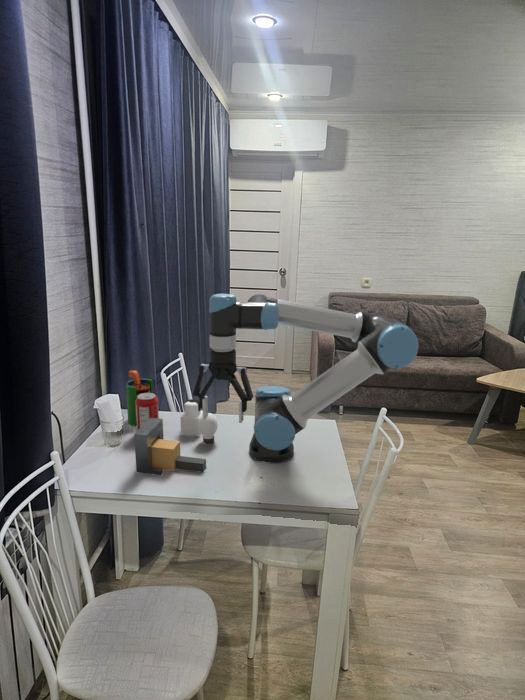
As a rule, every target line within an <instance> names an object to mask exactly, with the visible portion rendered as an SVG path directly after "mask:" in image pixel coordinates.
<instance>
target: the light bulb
mask: <svg viewBox="0 0 525 700" xmlns="http://www.w3.org/2000/svg"><path fill="white" fill-rule="evenodd" d="M218 426H219V423H218V419H217V417H216V416H215V414H213V413H211V412H208V417H207V418H206V419H205V420H204V419H203V415H202V416H201V417H200V419H199V422H198V427H199V431H200V433H201V435H202V443H203V444H204V445H213V444H214V443H215V434H216V432H217V430H218Z"/></svg>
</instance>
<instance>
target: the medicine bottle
mask: <svg viewBox="0 0 525 700" xmlns="http://www.w3.org/2000/svg"><path fill="white" fill-rule="evenodd" d="M183 407H184V409H183V410H184V412H183V413H182V414H181V415H180V434H181V435H186V436H193V437H195V436H196V437H199V436H201V435H202V434H201V433H200V431H199V427H198V422H199V419H200V417H201V416H202V415H203V409H202V408H200V404H199V399H193V398H192V399H190V398H189V399H187V400H185V402H184V404H183Z"/></svg>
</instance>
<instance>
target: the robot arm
mask: <svg viewBox="0 0 525 700" xmlns="http://www.w3.org/2000/svg"><path fill="white" fill-rule="evenodd" d="M208 306H209V308H208V309H209V311H208V313H209V314H208V316H209V323H208V324H209V348H210V349H209V364H206V363H204V362H202V363H201V364H200V365H199V366H198V370H199V371H198V373H199V374H198V377H197V380H196V383H195V386H194V389H193V393H192V395H193V396H194V397H198V398H199V399H198V400H199V404H200V408H201V409H202V411H203V419H204V420H205V419H206V418H207V417H208V413H209V402H208V401H209V398H208V395H206V394H207V393H208V390H210V388H211V387H212V385H213V383H214V382H215V380H217V381H220V380H223V381H228V382H229V383H230V384H231V387H233V389H234V391H235V393H236V394H237V396H238V397H239V399H240V400H239V401H238V423H239V424H242V423H243V421H244V413H246V411H247V409H248V402H251V401H252V399H253V398H255V399H254V400H255V401H254V402H255V403H254V404H255V405H254V425H253V434H252V437H251V440H250V442H249V446H248V452H249V454H250V455H249V456H251V457H252V458H253V459H254V460H256V461H259V462H262V463H267V464H268V463H269V464H276V463H277V464H278V463H283V462H286V461H288V460H290V459H292V457H293V455H294V451H295V447H294V441H295V437H296V434H298V433H299V432H301V431H302V430H304V429H305V428H306V427H307V424H308V423H307V422H308V420H309V419H311V418H312V417H314V416H315V415H316V414H318V413H319V412H321V411H322V410H324V409H325V408H327V407H328V406H329V405H331V404H333V403H334V402H336V401H337V400H338V399H340V398H341V397H343V396H344V395H345V394H347V393H348V392H350V391H351V390H353V389H355V388H356V387H357V386H359V385H360V384H362V383H363V382H364V381H366V380H368V379H369V378H371V377H372V376H373V375H375V374H377V375H384V374H385V373H388V372H389V371H390V370H391V369H401V368H406V367H407V366H409V365H410V364H411V363H412V362H414V360H416V359H415V358H416V357H417V354H418V353H419V346H420V345H419V339H418V337H417V334H416V333H415V332H414V331H413V330H412V329H411V328H410V326H409V325H406V324H404V323H403V322H401V321H399V320H398V319H397V318H395V317H392V316H389V315H384V314H383V315H382V314H377V313H368V312H363V311H358V312H357V313H350V312H345V311H340V310H335V309H331V308H326V307H325V308H324V307H320V306H314V305H310V304H304V303H299V302H294V301H289V300H284V299H279V298H278V299H277V298H273V297H269V296H267V295H264V294H262V293H256V294H253V295H251V296H250V297H249V299H248V300H247V302H246V301H238V300H237V296H236V295H235V294H232V293H216V294H212V295H211V296H210V297H209V305H208ZM279 325H281V326H282V325H283V326H286V327H292V328H297V329H304V330H308V331H314V332H317V333H322V334H323V333H324V334H329V335H333V336H340V337H344V338H348V339H351V341H352V343H357V344H358V345H357V348H356V349H355V350H354V351H353V352H351V353H350V354H348V355H347V356H345V357H344V358H342V359H341V360H340V361H338V362H337V363H335V364H334V365H332V366H331V367H330V368H328V369H326V371H324V372H323V373H321V374H319V375H318V376H317V377H315V378H314V379H313V380H311V381H310V382H309V383H307V384H305V385H304V386H303V387H301V388H300V389H298V390H297V391H295V392H294V393H293V394H292V392H291V390H290V389H289V388H287V387H284V386H278V385H265V386H260V387H258V388H257V389H256V391H255V395H254V394H253V393H254V392H253V390H252V387H251V385H250V381H249V377H248V374H247V373H248V368H247V366H244V365H243V366H242V367H241V366H238V365H237V349H236V347H237V330H238V329H239V330H240V329H242V330H245V329H247V330H264V331H266V330H276V329H277V328H278V327H279ZM207 371H209V372H210V373H211V376H210V378H209V380H208V381H207V382H206V384H205V386H204V387H203V389H201V388H202V385H203V381H204V379H205V375H206V372H207ZM236 372H238V374H239V375H240V379H241V383H242V386H243V388H244V389H243V388H242V386H241V384H240V382H239V381H238V379H237V376H236V374H235V373H236Z"/></svg>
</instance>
